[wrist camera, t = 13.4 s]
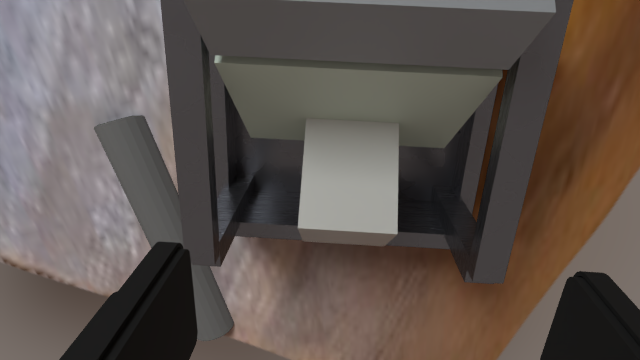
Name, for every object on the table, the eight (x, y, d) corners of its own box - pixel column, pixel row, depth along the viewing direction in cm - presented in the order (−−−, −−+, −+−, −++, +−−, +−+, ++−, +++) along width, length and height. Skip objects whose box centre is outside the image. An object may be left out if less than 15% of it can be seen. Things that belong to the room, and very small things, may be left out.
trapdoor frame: (512, -86, 24) (633, -151, 14) (457, 211, 32) (512, 309, 21) (213, -98, 25) (123, -168, 15) (226, 197, 32) (173, 287, 22)
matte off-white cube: (399, 123, 23) (397, 234, 21) (386, 153, 28) (384, 246, 26) (306, 118, 23) (297, 228, 21) (309, 149, 28) (302, 241, 26)
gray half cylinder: (193, 330, 38) (187, 345, 36) (94, 123, 31) (80, 129, 29) (238, 321, 37) (233, 336, 36) (147, 108, 30) (136, 114, 29)
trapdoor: (550, -51, 14) (556, 12, 13) (443, 112, 27) (444, 148, 26) (191, -65, 14) (181, -5, 14) (254, 102, 27) (250, 137, 27)
